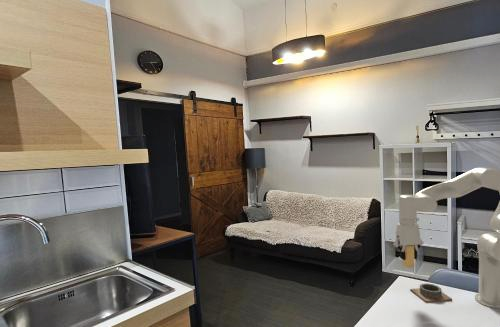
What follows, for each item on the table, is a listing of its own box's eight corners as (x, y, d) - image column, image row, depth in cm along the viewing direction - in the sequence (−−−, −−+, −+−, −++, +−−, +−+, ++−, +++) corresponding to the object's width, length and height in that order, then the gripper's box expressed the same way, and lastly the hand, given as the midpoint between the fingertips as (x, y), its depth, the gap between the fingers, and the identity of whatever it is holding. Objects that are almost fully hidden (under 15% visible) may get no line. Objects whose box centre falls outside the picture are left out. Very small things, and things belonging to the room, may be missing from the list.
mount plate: (434, 288, 157) (434, 281, 157) (452, 300, 145) (452, 292, 145) (410, 290, 156) (410, 283, 156) (425, 302, 144) (425, 294, 144)
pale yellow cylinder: (410, 263, 151) (410, 242, 151) (416, 266, 146) (416, 246, 146) (400, 263, 151) (400, 243, 150) (406, 267, 146) (406, 246, 145)
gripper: (419, 218, 152) (420, 254, 153) (386, 220, 150) (387, 257, 151) (430, 222, 144) (430, 260, 145) (395, 224, 143) (395, 262, 144)
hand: (408, 258), depth 148 cm, fingers closed on pale yellow cylinder, 5 cm apart
